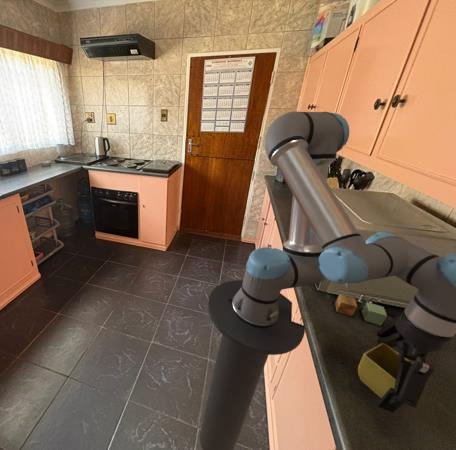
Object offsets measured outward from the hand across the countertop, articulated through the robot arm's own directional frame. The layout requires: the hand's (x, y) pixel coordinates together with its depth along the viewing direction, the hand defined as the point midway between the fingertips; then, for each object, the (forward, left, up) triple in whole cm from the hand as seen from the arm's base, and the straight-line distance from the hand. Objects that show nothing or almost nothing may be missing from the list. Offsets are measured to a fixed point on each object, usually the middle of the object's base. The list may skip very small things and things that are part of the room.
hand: (378, 383), depth 61 cm
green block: (+5, +30, -3) cm, 30 cm away
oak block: (-3, +30, -3) cm, 30 cm away
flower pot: (0, 0, -1) cm, 1 cm away
